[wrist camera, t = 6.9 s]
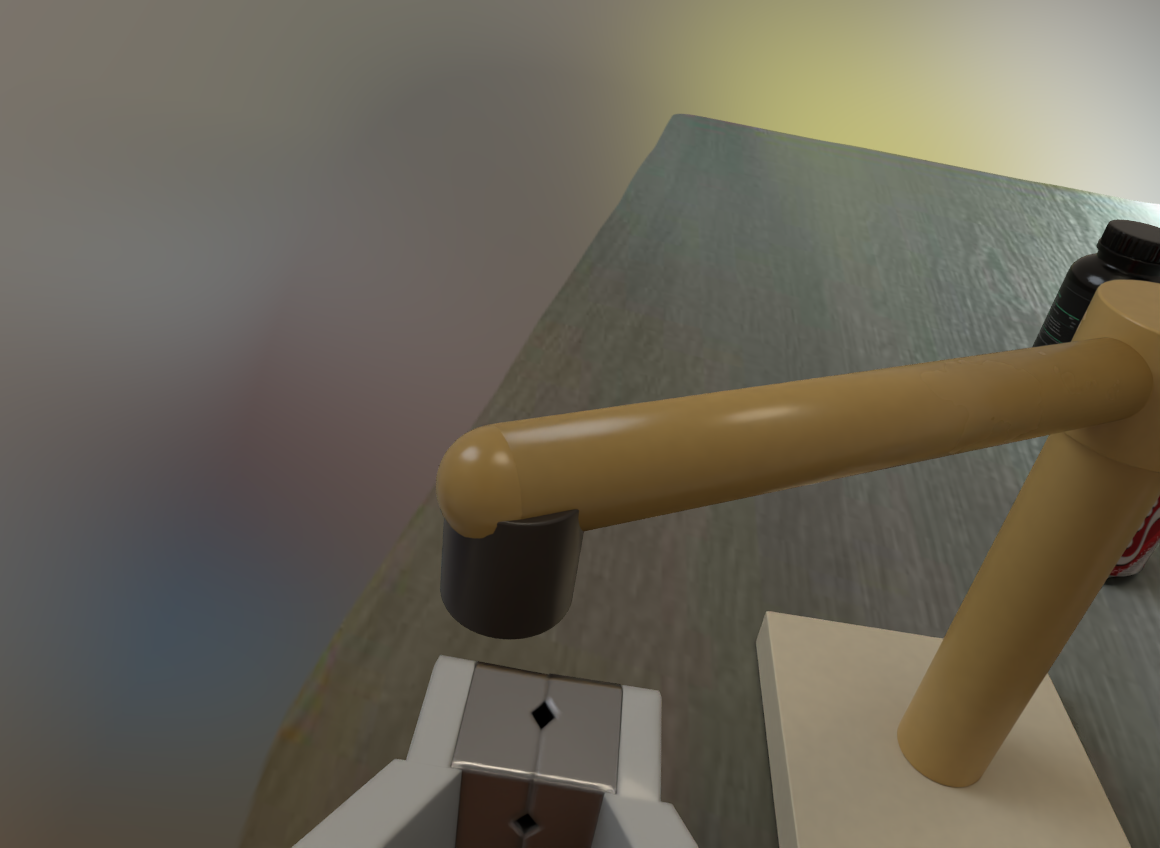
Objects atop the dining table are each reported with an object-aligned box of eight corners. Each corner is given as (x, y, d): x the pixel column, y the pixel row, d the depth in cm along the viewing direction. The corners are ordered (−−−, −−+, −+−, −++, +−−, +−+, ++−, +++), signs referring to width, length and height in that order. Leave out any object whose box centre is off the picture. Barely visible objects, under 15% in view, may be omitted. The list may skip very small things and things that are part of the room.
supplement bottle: (1107, 372, 67) (1185, 227, 61) (1129, 414, 62) (1217, 259, 55) (1017, 351, 68) (1083, 206, 62) (1030, 391, 63) (1105, 236, 56)
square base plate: (786, 915, 28) (976, 535, 19) (755, 641, 38) (870, 309, 29) (1146, 972, 28) (1506, 618, 19) (1020, 683, 38) (1217, 363, 29)
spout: (1094, 402, 27) (1163, 274, 25) (1229, 484, 24) (1323, 346, 22) (402, 533, 18) (405, 348, 15) (470, 697, 15) (488, 495, 12)
